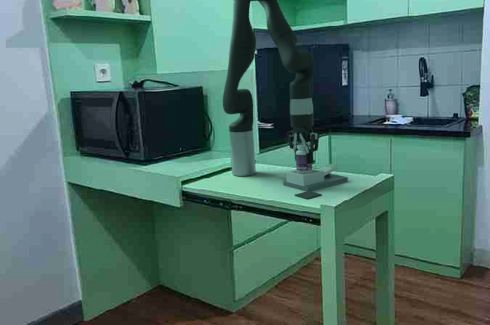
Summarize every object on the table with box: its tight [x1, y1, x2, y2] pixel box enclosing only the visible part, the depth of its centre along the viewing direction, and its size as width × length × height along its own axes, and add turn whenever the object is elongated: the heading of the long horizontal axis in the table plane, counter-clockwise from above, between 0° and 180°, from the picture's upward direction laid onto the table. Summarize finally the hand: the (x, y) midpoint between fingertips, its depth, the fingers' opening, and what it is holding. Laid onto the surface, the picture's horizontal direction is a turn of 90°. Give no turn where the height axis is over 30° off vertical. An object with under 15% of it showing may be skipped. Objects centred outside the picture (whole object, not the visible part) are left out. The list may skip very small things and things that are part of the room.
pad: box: [294, 191, 323, 200], centre depth 140 cm, size 6×6×1 cm
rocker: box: [318, 163, 339, 176], centre depth 157 cm, size 4×8×1 cm, turn 123°
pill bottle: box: [295, 144, 313, 174], centre depth 151 cm, size 5×5×10 cm
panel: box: [282, 168, 349, 192], centre depth 155 cm, size 13×18×5 cm
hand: (304, 162), depth 151 cm, fingers closed on pill bottle, 5 cm apart
